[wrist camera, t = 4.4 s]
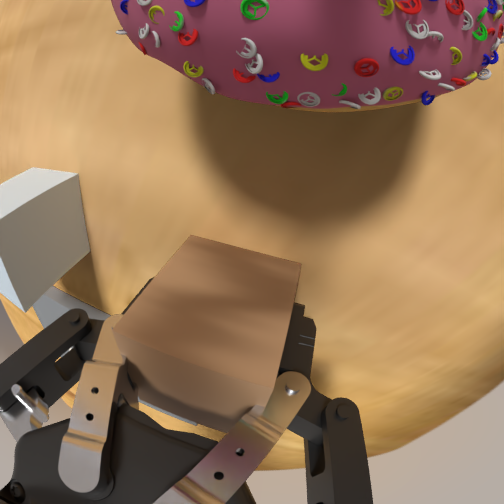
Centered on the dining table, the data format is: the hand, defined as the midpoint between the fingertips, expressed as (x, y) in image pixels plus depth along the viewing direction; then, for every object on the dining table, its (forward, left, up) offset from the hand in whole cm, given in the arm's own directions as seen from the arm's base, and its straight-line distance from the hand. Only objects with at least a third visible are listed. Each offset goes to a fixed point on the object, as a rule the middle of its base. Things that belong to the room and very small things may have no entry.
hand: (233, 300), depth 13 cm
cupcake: (-1, -13, -1) cm, 13 cm away
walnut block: (0, 0, -1) cm, 1 cm away
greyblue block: (+12, -2, -1) cm, 12 cm away
